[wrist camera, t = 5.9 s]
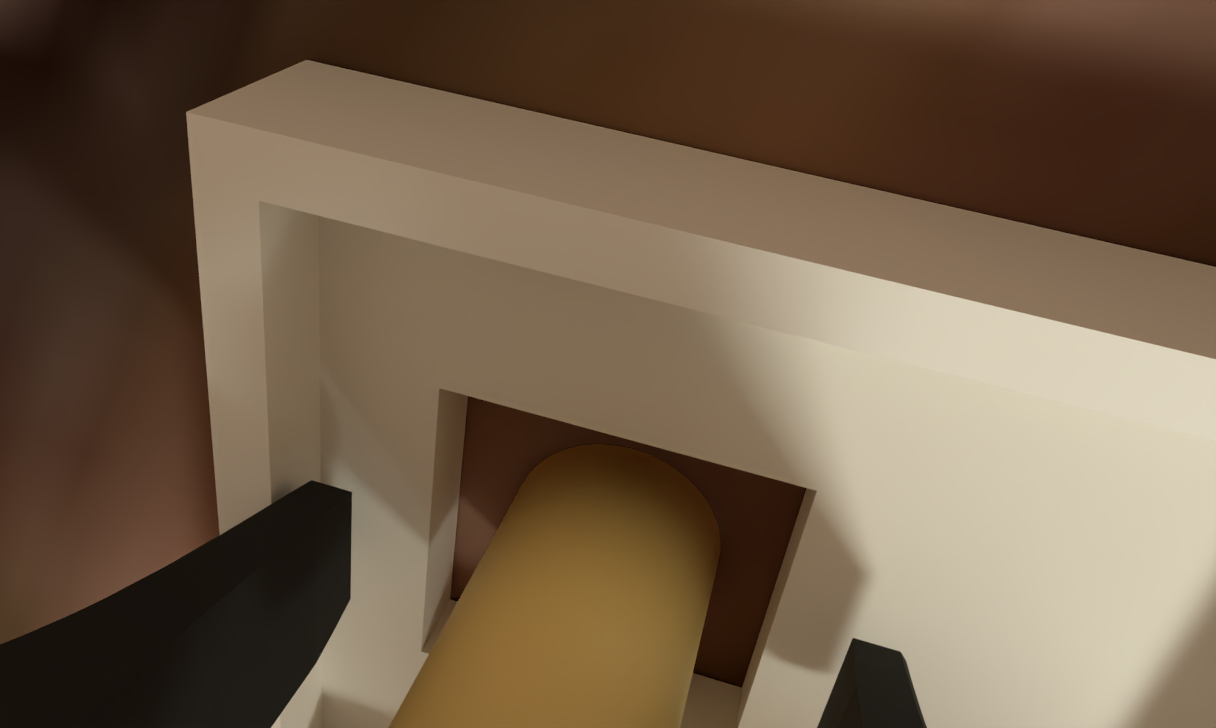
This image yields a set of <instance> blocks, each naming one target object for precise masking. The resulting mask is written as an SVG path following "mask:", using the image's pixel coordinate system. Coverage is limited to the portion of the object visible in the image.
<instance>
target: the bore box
mask: <svg viewBox="0 0 1216 728" xmlns="http://www.w3.org/2000/svg"><path fill="white" fill-rule="evenodd" d="M186 118H187V130H188V143H189V155H190V168H191V181H192V193H193V206H194V219H195V231H196V244H197V256H198V269H199V282H200V294H201V307H202V319H203V332H204V345H205V357H206V370H207V382H208V395H209V408H210V420H211V433H212V446H213V458H214V471H215V483H216V496H217V509H218V521H219V534H220V535H221V534H223V533H224V532H226V531H228V530H229V529H231V528H233V527H234V526H236V525H238V524H239V523H241V522H243V521H244V520H246V519H247V518H249V517H251V516H252V515H254V514H256V513H257V512H259V511H261V510H262V509H264V508H265V507H267V506H269V505H270V504H272V503H274V502H275V501H277V500H279V499H280V498H282V497H284V496H285V495H287V494H289V493H290V492H292V491H294V490H295V489H297V488H299V487H301V486H302V485H304V484H306V483H307V482H309V481H311V480H313V481H316V482H320V483H323V484H327V485H330V486H334V487H337V488H340V489H344V490H347V491H351V492H352V527H351V599H350V601H349V603H348V605H347V607H346V609H345V611H344V612H343V614H342V616H341V618H340V620H339V622H338V624H337V626H336V628H335V630H334V632H333V634H332V635H331V637H330V639H329V641H328V643H327V645H326V646H325V648H324V650H323V652H322V654H321V655H320V657H319V659H318V661H317V663H316V664H315V666H314V667H313V668H312V670H311V671H310V673H309V674H308V676H307V677H306V679H305V680H304V682H303V683H302V684H301V686H300V687H299V689H298V690H297V692H296V693H295V694H294V696H293V697H292V699H291V700H290V702H289V703H288V704H287V706H286V707H285V709H284V710H283V711H282V713H281V714H280V716H279V717H278V719H277V720H276V721H275V723H274V724H273V726H272V727H271V728H389V726H390V724H391V722H392V720H393V719H394V717H395V715H396V713H397V711H398V709H399V708H400V706H401V704H402V702H403V700H404V699H405V697H406V695H407V693H408V691H409V689H410V688H411V686H412V684H413V682H414V680H415V678H416V677H417V675H418V673H419V671H420V669H421V668H422V666H423V664H424V662H425V660H426V658H427V657H428V655H429V653H430V651H431V649H432V648H433V646H434V644H435V642H436V640H437V638H438V637H439V635H440V633H441V631H442V629H443V627H444V626H445V624H446V622H447V620H448V618H449V617H450V615H451V613H452V611H453V609H454V607H455V606H456V604H457V601H453V600H450V596H451V584H452V573H453V562H454V550H455V539H456V527H457V516H458V505H459V493H460V482H461V470H462V459H463V448H464V436H465V425H466V413H467V402H468V396H470V397H474V398H477V399H481V400H485V401H488V402H492V403H496V404H499V405H503V406H507V407H510V408H514V409H518V410H521V411H525V412H529V413H532V414H536V415H540V416H543V417H547V418H551V419H555V420H558V421H562V422H566V423H569V424H573V425H577V426H580V427H584V428H588V429H591V430H595V431H599V432H602V433H606V434H610V435H613V436H617V437H621V438H624V439H628V440H632V441H635V442H639V443H643V444H646V445H650V446H654V447H657V448H661V449H665V450H669V451H672V452H676V453H680V454H683V455H687V456H691V457H694V458H698V459H702V460H705V461H709V462H713V463H716V464H720V465H724V466H727V467H731V468H735V469H738V470H742V471H746V472H749V473H753V474H757V475H760V476H764V477H768V478H771V479H775V480H779V481H782V482H786V483H790V484H794V485H797V486H801V487H805V488H807V489H806V492H805V495H804V498H803V501H802V504H801V507H800V510H799V513H798V516H797V519H796V522H795V525H794V529H793V532H792V535H791V538H790V541H789V544H788V547H787V550H786V553H785V556H784V559H783V562H782V566H781V569H780V572H779V575H778V578H777V581H776V584H775V587H774V590H773V593H772V596H771V599H770V602H769V606H768V609H767V612H766V615H765V618H764V621H763V624H762V627H761V630H760V633H759V636H758V639H757V643H756V646H755V649H754V652H753V655H752V658H751V661H750V664H749V667H748V670H747V673H746V676H745V679H744V683H743V686H742V688H741V687H738V686H734V685H731V684H728V683H724V682H721V681H718V680H714V679H711V678H708V677H704V676H701V675H698V674H695V673H693V674H692V678H691V683H690V687H689V691H688V695H687V700H686V704H685V708H684V713H683V717H682V721H681V726H680V728H817V727H818V724H819V722H820V719H821V717H822V714H823V711H824V709H825V706H826V704H827V701H828V699H829V696H830V694H831V691H832V689H833V686H834V684H835V681H836V679H837V676H838V674H839V671H840V669H841V666H842V664H843V661H844V659H845V656H846V654H847V651H848V648H849V646H850V643H851V641H852V638H856V639H859V640H862V641H866V642H869V643H873V644H876V645H880V646H883V647H887V648H890V649H893V650H897V651H900V652H901V653H902V655H903V656H904V658H905V660H906V662H907V666H908V669H909V673H910V676H911V680H912V683H913V686H914V690H915V693H916V696H917V699H918V702H919V706H920V709H921V712H922V715H923V718H924V721H925V724H926V726H927V728H1216V267H1214V266H1209V265H1205V264H1201V263H1196V262H1192V261H1187V260H1183V259H1179V258H1174V257H1170V256H1165V255H1161V254H1157V253H1152V252H1148V251H1144V250H1139V249H1135V248H1130V247H1126V246H1122V245H1117V244H1113V243H1108V242H1104V241H1100V240H1095V239H1091V238H1086V237H1082V236H1078V235H1073V234H1069V233H1065V232H1060V231H1056V230H1051V229H1047V228H1043V227H1038V226H1034V225H1029V224H1025V223H1021V222H1016V221H1012V220H1007V219H1003V218H999V217H994V216H990V215H986V214H981V213H977V212H972V211H968V210H964V209H959V208H955V207H950V206H946V205H942V204H937V203H933V202H928V201H924V200H920V199H915V198H911V197H907V196H902V195H898V194H893V193H889V192H885V191H880V190H876V189H871V188H867V187H863V186H858V185H854V184H850V183H845V182H841V181H836V180H832V179H828V178H823V177H819V176H814V175H810V174H806V173H801V172H797V171H792V170H788V169H784V168H779V167H775V166H771V165H766V164H762V163H757V162H753V161H749V160H744V159H740V158H735V157H731V156H727V155H722V154H718V153H713V152H709V151H705V150H700V149H696V148H692V147H687V146H683V145H678V144H674V143H670V142H665V141H661V140H656V139H652V138H648V137H643V136H639V135H634V134H630V133H626V132H621V131H617V130H613V129H608V128H604V127H599V126H595V125H591V124H586V123H582V122H577V121H573V120H569V119H564V118H560V117H556V116H551V115H547V114H542V113H538V112H534V111H529V110H525V109H520V108H516V107H512V106H507V105H503V104H498V103H494V102H490V101H485V100H481V99H477V98H472V97H468V96H463V95H459V94H455V93H450V92H446V91H441V90H437V89H433V88H428V87H424V86H419V85H415V84H411V83H406V82H402V81H398V80H393V79H389V78H384V77H380V76H376V75H371V74H367V73H362V72H358V71H354V70H349V69H345V68H340V67H336V66H332V65H327V64H323V63H319V62H314V61H310V60H305V61H303V62H300V63H298V64H296V65H293V66H291V67H289V68H286V69H284V70H282V71H280V72H277V73H275V74H273V75H270V76H268V77H266V78H263V79H261V80H259V81H256V82H254V83H252V84H250V85H247V86H245V87H243V88H240V89H238V90H236V91H233V92H231V93H229V94H227V95H224V96H222V97H220V98H217V99H215V100H213V101H210V102H208V103H206V104H203V105H201V106H199V107H197V108H194V109H192V110H190V111H187V112H186Z"/></svg>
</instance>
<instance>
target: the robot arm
mask: <svg viewBox="0 0 1216 728" xmlns="http://www.w3.org/2000/svg"><path fill="white" fill-rule="evenodd" d="M351 527H352V492H351V491H347V490H344V489H340V488H337V487H334V486H330V485H327V484H323V483H320V482H316V481H313V480H311V481H309V482H307V483H306V484H304V485H302V486H301V487H299V488H297V489H295V490H294V491H292V492H290V493H289V494H287V495H285V496H284V497H282V498H280V499H279V500H277V501H275V502H274V503H272V504H270V505H269V506H267V507H265V508H264V509H262V510H261V511H259V512H257V513H256V514H254V515H252V516H251V517H249V518H247V519H246V520H244V521H243V522H241V523H239V524H238V525H236V526H234V527H233V528H231V529H229V530H228V531H226V532H224V533H223V534H221V535H219V536H218V537H216V538H214V539H212V540H211V541H209V542H207V543H205V544H204V545H202V546H200V547H199V548H197V549H195V550H193V551H192V552H190V553H188V554H186V555H185V556H183V557H181V558H180V559H178V560H176V561H174V562H173V563H171V564H169V565H167V566H165V567H164V568H162V569H160V570H158V571H156V572H154V573H152V574H151V575H149V576H147V577H145V578H143V579H141V580H139V581H137V582H135V583H133V584H132V585H130V586H128V587H126V588H124V589H122V590H120V591H118V592H116V593H114V594H112V595H111V596H109V597H107V598H105V599H103V600H101V601H99V602H97V603H95V604H93V605H90V606H88V607H86V608H84V609H82V610H80V611H78V612H76V613H73V614H71V615H69V616H67V617H65V618H62V619H60V620H58V621H56V622H53V623H51V624H49V625H46V626H44V627H42V628H39V629H37V630H35V631H32V632H30V633H28V634H26V635H23V636H21V637H18V638H16V639H13V640H11V641H8V642H6V643H3V644H0V728H271V727H272V726H273V724H274V723H275V721H276V720H277V719H278V717H279V716H280V714H281V713H282V711H283V710H284V709H285V707H286V706H287V704H288V703H289V702H290V700H291V699H292V697H293V696H294V694H295V693H296V692H297V690H298V689H299V687H300V686H301V684H302V683H303V682H304V680H305V679H306V677H307V676H308V674H309V673H310V671H311V670H312V668H313V667H314V666H315V664H316V663H317V661H318V659H319V657H320V655H321V654H322V652H323V650H324V648H325V646H326V645H327V643H328V641H329V639H330V637H331V635H332V634H333V632H334V630H335V628H336V626H337V624H338V622H339V620H340V618H341V616H342V614H343V612H344V611H345V609H346V607H347V605H348V603H349V601H350V599H351ZM817 728H927V726H926V724H925V721H924V718H923V715H922V712H921V709H920V706H919V702H918V699H917V696H916V693H915V690H914V686H913V683H912V680H911V676H910V673H909V669H908V666H907V662H906V660H905V658H904V656H903V655H902V653H901V652H900V651H897V650H893V649H890V648H887V647H883V646H880V645H876V644H873V643H869V642H866V641H862V640H859V639H856V638H852V641H851V643H850V646H849V648H848V651H847V654H846V656H845V659H844V661H843V664H842V666H841V669H840V671H839V674H838V676H837V679H836V681H835V684H834V686H833V689H832V691H831V694H830V696H829V699H828V701H827V704H826V706H825V709H824V711H823V714H822V717H821V719H820V722H819V724H818V727H817Z"/></svg>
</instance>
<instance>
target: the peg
mask: <svg viewBox="0 0 1216 728" xmlns="http://www.w3.org/2000/svg"><path fill="white" fill-rule="evenodd" d="M720 547H721V540H720V533H719V528H718V525H717V521H716V518H715V516H714V514H713V512H712V509H711V507H710V506H709V504H708V503H707V501H706V499H705V498H704V496H703V495H702V494H701V493H700V491H699V490H698V489H697V488H696V487H695V485H693V484H692V483H691V482H690V481H689V480H688V479H687V478H686V477H685V476H684V475H683V474H681V473H680V472H679V471H677V470H676V469H675V468H673V467H672V466H670V465H668V464H667V463H665V462H663V461H662V460H660V459H657V458H655V457H653V456H651V455H649V454H646V453H643V452H641V451H638V450H635V449H631V448H626V447H622V446H615V445H607V444H591V445H582V446H576V447H572V448H568V449H565V450H562V451H560V452H557V453H555V454H553V455H551V456H549V457H548V458H546V459H544V460H543V461H542V462H541V463H539V464H538V465H537V466H536V467H535V468H534V469H533V470H532V471H531V472H530V473H529V474H528V476H527V477H526V479H525V480H524V482H523V484H522V485H521V487H520V489H519V491H518V493H517V495H516V496H515V498H514V500H513V502H512V504H511V505H510V507H509V509H508V511H507V513H506V515H505V516H504V518H503V520H502V522H501V524H500V525H499V527H498V529H497V531H496V533H495V535H494V536H493V538H492V540H491V542H490V544H489V546H488V547H487V549H486V551H485V553H484V555H483V556H482V558H481V560H480V562H479V564H478V566H477V567H476V569H475V571H474V573H473V575H472V576H471V578H470V580H469V582H468V584H467V586H466V587H465V589H464V591H463V593H462V595H461V597H460V598H459V600H458V602H457V604H456V606H455V607H454V609H453V611H452V613H451V615H450V617H449V618H448V620H447V622H446V624H445V626H444V627H443V629H442V631H441V633H440V635H439V637H438V638H437V640H436V642H435V644H434V646H433V648H432V649H431V651H430V653H429V655H428V657H427V658H426V660H425V662H424V664H423V666H422V668H421V669H420V671H419V673H418V675H417V677H416V678H415V680H414V682H413V684H412V686H411V688H410V689H409V691H408V693H407V695H406V697H405V699H404V700H403V702H402V704H401V706H400V708H399V709H398V711H397V713H396V715H395V717H394V719H393V720H392V722H391V724H390V726H389V728H680V726H681V721H682V717H683V713H684V708H685V704H686V700H687V695H688V691H689V687H690V683H691V678H692V674H693V670H694V665H695V661H696V657H697V652H698V648H699V644H700V639H701V635H702V631H703V627H704V622H705V618H706V614H707V609H708V605H709V601H710V596H711V592H712V588H713V583H714V579H715V575H716V571H717V566H718V562H719V557H720Z"/></svg>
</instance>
